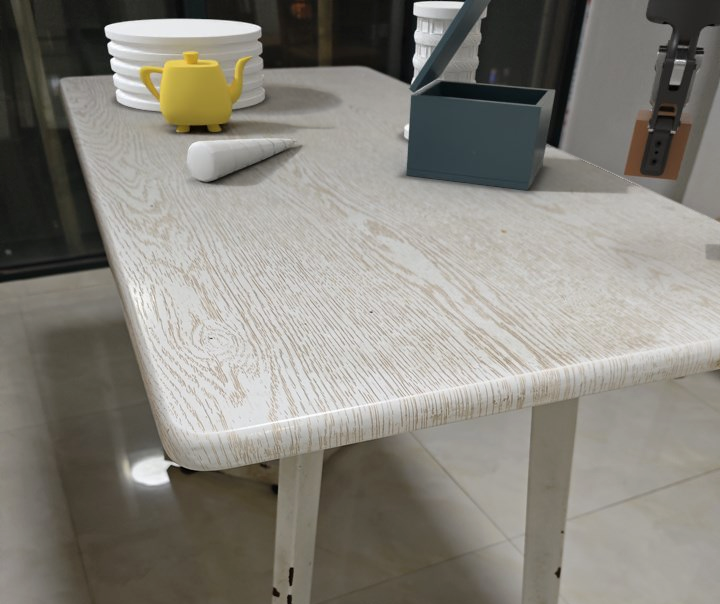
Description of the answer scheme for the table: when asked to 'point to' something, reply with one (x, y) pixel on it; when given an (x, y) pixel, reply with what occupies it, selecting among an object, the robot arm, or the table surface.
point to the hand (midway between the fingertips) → (651, 166)
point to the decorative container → (429, 33)
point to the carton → (641, 138)
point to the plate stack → (169, 41)
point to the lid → (450, 43)
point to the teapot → (195, 91)
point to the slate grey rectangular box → (478, 133)
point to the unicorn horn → (230, 155)
